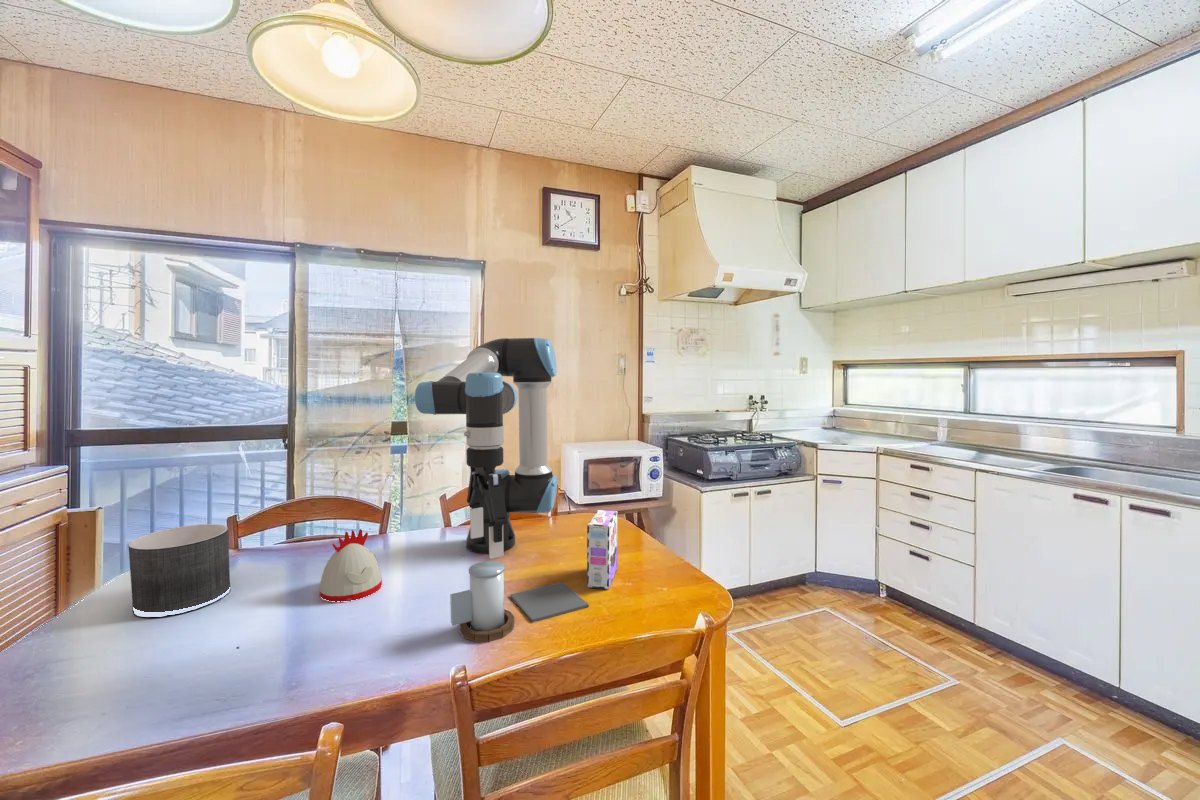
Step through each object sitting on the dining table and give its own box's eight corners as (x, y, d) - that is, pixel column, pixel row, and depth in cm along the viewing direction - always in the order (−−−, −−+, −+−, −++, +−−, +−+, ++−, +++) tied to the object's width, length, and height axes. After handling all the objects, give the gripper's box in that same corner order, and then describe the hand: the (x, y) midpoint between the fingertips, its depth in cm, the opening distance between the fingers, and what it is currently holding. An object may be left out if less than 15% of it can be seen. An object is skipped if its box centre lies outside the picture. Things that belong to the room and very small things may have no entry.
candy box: (609, 590, 121) (609, 525, 120) (586, 588, 122) (586, 524, 121) (618, 568, 134) (618, 510, 133) (597, 566, 135) (597, 508, 134)
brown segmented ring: (455, 622, 105) (455, 615, 105) (503, 609, 111) (503, 603, 110) (468, 647, 96) (468, 640, 95) (521, 632, 101) (521, 625, 101)
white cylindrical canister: (498, 615, 108) (498, 558, 107) (510, 630, 102) (509, 570, 101) (447, 628, 102) (446, 569, 102) (456, 645, 96) (455, 582, 95)
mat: (510, 596, 117) (510, 594, 117) (562, 583, 124) (562, 581, 124) (532, 622, 105) (532, 619, 105) (588, 606, 112) (588, 604, 112)
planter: (246, 592, 120) (243, 529, 119) (156, 626, 104) (152, 554, 103) (206, 579, 127) (203, 520, 126) (116, 609, 111) (112, 542, 110)
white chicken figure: (391, 589, 121) (389, 530, 121) (331, 608, 111) (329, 545, 110) (368, 573, 131) (367, 519, 130) (311, 590, 121) (309, 531, 120)
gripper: (452, 440, 110) (453, 532, 111) (485, 456, 88) (486, 570, 89) (484, 438, 113) (485, 527, 114) (523, 453, 92) (524, 562, 93)
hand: (486, 546), depth 102 cm, fingers open, 13 cm apart
